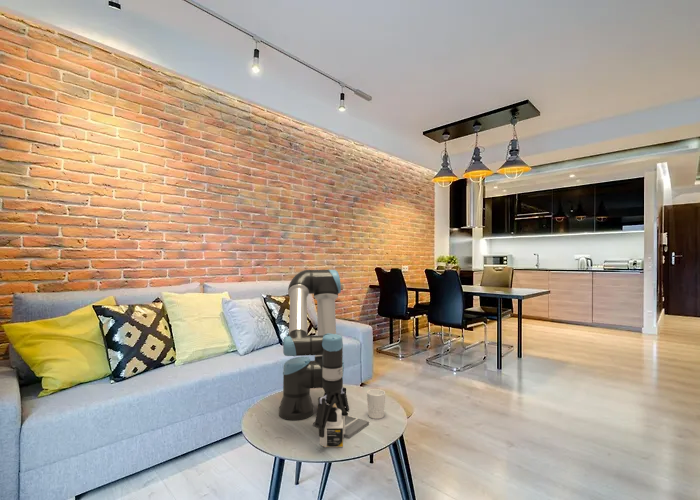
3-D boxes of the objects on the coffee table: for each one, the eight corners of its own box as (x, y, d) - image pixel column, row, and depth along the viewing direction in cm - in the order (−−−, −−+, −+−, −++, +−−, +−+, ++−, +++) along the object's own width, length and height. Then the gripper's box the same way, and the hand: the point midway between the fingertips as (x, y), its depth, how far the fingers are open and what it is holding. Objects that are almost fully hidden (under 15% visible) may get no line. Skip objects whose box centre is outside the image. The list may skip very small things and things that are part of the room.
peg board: (312, 425, 142) (312, 407, 142) (334, 413, 153) (334, 396, 153) (348, 438, 131) (348, 419, 132) (368, 424, 143) (368, 406, 143)
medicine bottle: (322, 447, 125) (322, 413, 125) (324, 437, 132) (324, 405, 133) (342, 447, 125) (342, 413, 125) (343, 437, 132) (343, 405, 133)
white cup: (384, 420, 147) (384, 396, 147) (365, 418, 148) (365, 394, 148) (386, 412, 154) (386, 389, 155) (368, 411, 156) (368, 388, 156)
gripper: (320, 389, 118) (320, 456, 117) (358, 371, 136) (358, 429, 136) (303, 384, 122) (304, 449, 121) (342, 368, 141) (343, 424, 140)
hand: (332, 438), depth 128 cm, fingers open, 10 cm apart
